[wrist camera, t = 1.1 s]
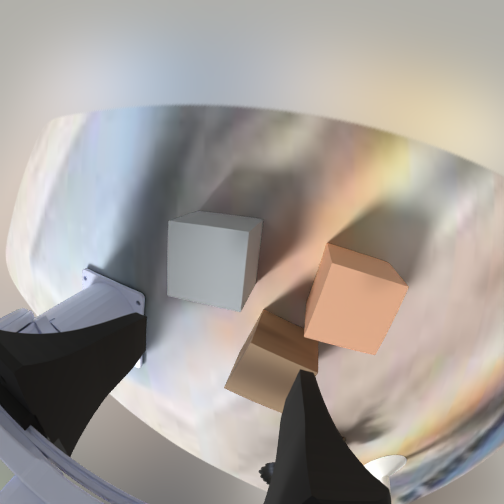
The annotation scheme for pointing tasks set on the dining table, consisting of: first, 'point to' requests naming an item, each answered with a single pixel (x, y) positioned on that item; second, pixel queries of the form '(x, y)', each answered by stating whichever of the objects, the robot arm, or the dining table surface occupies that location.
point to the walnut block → (272, 361)
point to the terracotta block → (353, 300)
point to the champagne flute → (385, 467)
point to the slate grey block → (213, 258)
